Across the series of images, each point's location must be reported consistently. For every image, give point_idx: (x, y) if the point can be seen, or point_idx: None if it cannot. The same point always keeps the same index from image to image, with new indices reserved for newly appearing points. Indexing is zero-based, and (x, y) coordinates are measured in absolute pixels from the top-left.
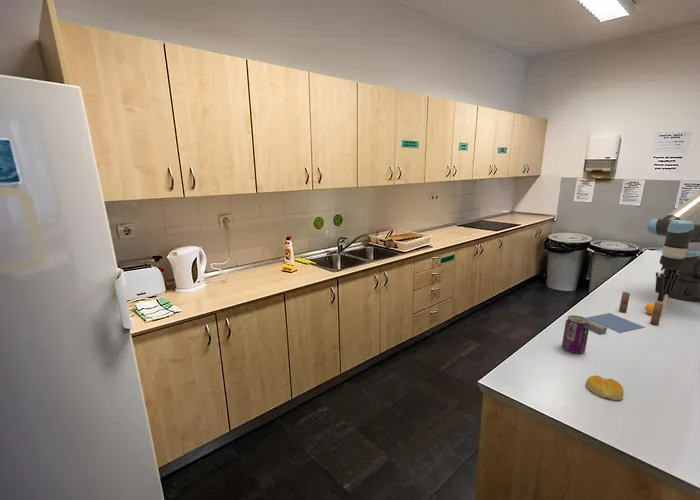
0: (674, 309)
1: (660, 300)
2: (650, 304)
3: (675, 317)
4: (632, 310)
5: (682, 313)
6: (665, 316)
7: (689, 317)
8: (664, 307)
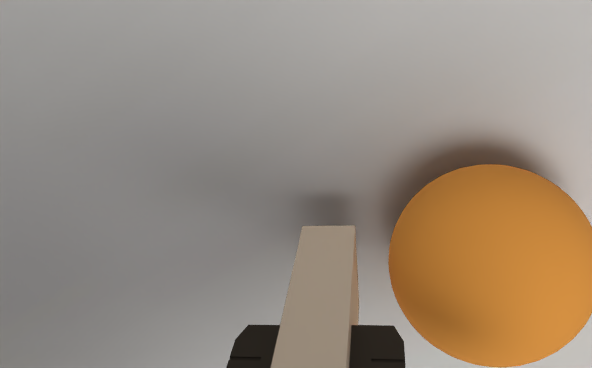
0: (37, 233)
1: (401, 347)
2: (577, 328)
3: (264, 68)
4: (562, 347)
5: (47, 131)
6: (364, 127)
7: (72, 15)
8: (310, 237)
